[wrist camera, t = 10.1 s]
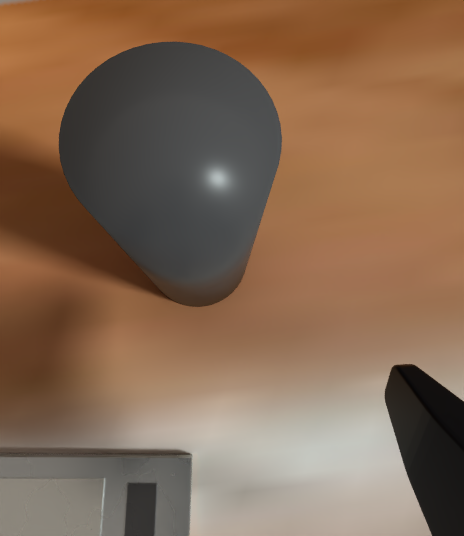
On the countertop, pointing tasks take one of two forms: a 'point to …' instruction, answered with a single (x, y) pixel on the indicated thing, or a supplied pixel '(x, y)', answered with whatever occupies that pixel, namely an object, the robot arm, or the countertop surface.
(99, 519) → the label plate
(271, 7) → the countertop surface
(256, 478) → the countertop surface
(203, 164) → the post
